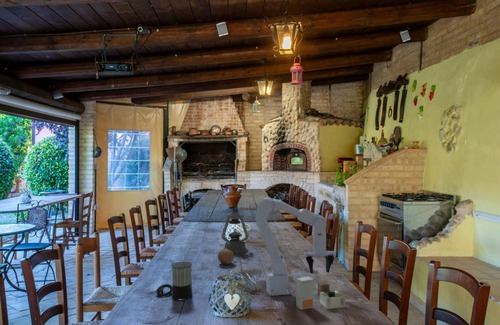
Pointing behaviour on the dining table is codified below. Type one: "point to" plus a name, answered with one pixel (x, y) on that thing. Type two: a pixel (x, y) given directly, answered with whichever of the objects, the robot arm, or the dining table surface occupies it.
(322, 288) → the walnut block
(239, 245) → the lantern
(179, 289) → the milk frother
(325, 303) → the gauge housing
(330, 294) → the plunger
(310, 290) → the skincare box
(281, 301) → the dining table surface
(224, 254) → the onion
